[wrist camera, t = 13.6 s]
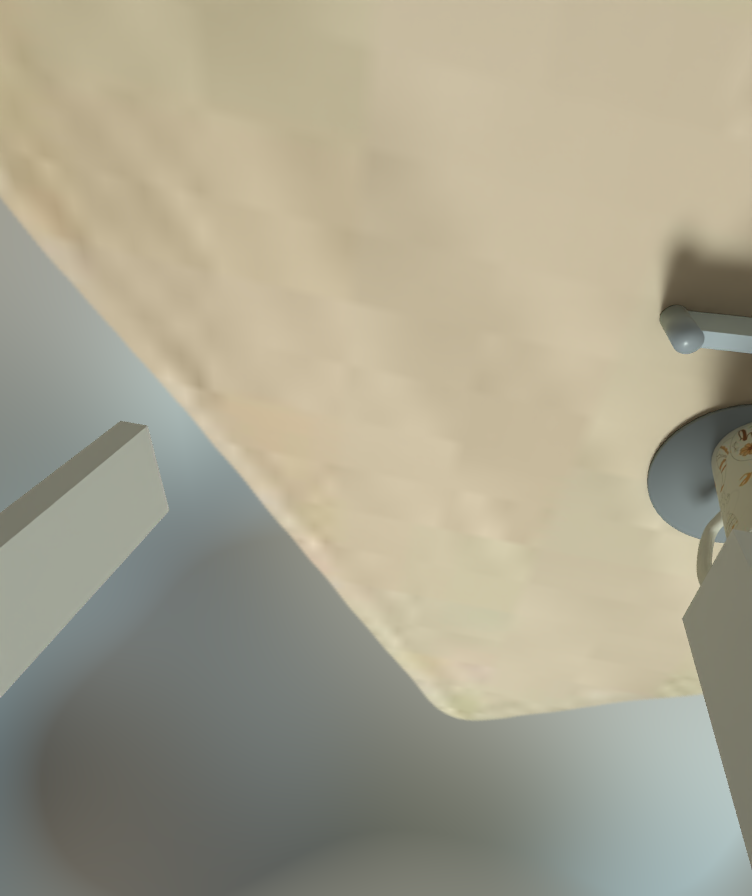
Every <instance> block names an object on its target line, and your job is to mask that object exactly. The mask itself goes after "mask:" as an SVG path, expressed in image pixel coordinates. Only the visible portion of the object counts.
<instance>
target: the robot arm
mask: <svg viewBox="0 0 752 896" xmlns="http://www.w3.org/2000/svg"><path fill="white" fill-rule="evenodd" d="M167 512H169V508H168V503H167V499H166V496H165V492H164V488H163V484H162V480H161V476H160V472H159V468H158V465H157V461H156V457H155V453H154V449H153V445H152V441H151V437H150V434H149V429H148V426H146V425H140V424H134V423H129V422H123V421H120V422H119V423H117V424H116V425H115V426H113V427H112V428H111V429H109V430H108V431H107V432H105V433H104V434H103V435H102V436H100V437H99V438H98V439H97V440H95V441H94V442H92V443H91V444H90V445H89V446H87V447H86V448H85V449H83V450H82V451H81V452H80V453H78V454H77V455H75V456H74V457H73V458H71V459H70V460H69V461H67V462H66V463H65V464H64V465H62V466H61V467H60V468H58V469H57V470H56V471H54V472H53V473H52V474H50V475H49V476H48V477H47V478H45V479H44V480H43V481H41V482H40V483H39V484H38V485H36V486H35V487H33V488H32V489H31V490H30V491H28V492H27V493H26V494H24V495H23V496H22V497H20V498H19V499H18V500H17V501H15V502H14V503H12V504H11V505H10V506H9V507H7V508H6V509H5V510H3V511H2V512H1V513H0V698H1V696H2V695H3V694H4V693H5V692H6V691H7V690H8V689H9V688H10V687H11V685H12V684H13V683H14V682H15V681H16V680H17V679H18V678H19V676H20V675H21V674H22V673H23V672H24V671H25V670H26V669H27V668H28V667H29V665H30V664H31V663H32V662H33V661H34V660H35V659H36V658H37V657H38V656H39V654H40V653H41V652H42V651H43V650H44V649H45V648H46V647H47V646H48V644H49V643H50V642H51V641H52V640H53V639H54V638H55V637H56V636H57V635H58V633H59V632H60V631H61V630H62V629H63V628H64V626H66V625H67V623H68V622H69V621H70V620H71V619H72V618H73V617H74V616H75V615H76V613H77V612H78V611H79V610H80V609H81V608H82V607H83V606H84V605H85V603H86V602H87V601H88V600H89V599H90V598H91V597H92V596H93V595H94V593H95V592H96V591H97V590H98V589H99V588H100V587H101V586H102V585H103V584H104V582H105V581H106V580H107V579H108V578H109V577H110V576H111V575H112V573H113V572H114V571H115V570H116V569H117V568H118V567H119V566H120V565H121V563H122V562H123V561H124V560H125V559H126V558H127V557H128V556H129V555H130V554H131V553H132V551H133V550H134V549H135V548H136V547H137V546H138V545H139V544H140V542H141V541H142V540H143V539H144V538H145V537H146V536H147V535H148V533H150V531H151V530H152V529H153V528H154V527H155V526H156V525H157V524H158V523H159V521H160V520H161V519H162V518H163V517H164V516H165V515H166V514H167ZM682 619H683V623H684V627H685V630H686V634H687V637H688V641H689V645H690V648H691V652H692V655H693V659H694V663H695V666H696V670H697V673H698V677H699V681H700V684H701V688H702V691H703V695H704V699H705V702H706V706H707V709H708V713H709V717H710V720H711V724H712V727H713V731H714V735H715V738H716V742H717V745H718V749H719V752H720V756H721V760H722V763H723V767H724V771H725V774H726V778H727V781H728V785H729V788H730V792H731V796H732V799H733V803H734V806H735V810H736V814H737V817H738V821H739V824H740V828H741V832H742V835H743V838H744V842H745V846H746V850H747V853H748V857H749V860H750V864H751V868H752V532H746V531H740V530H735V529H732V531H731V532H730V534H729V536H728V538H727V540H726V541H725V543H724V545H723V547H722V548H721V550H720V552H719V554H718V556H717V557H716V559H715V561H714V563H713V565H712V566H711V568H710V570H709V572H708V573H707V575H706V577H705V579H704V581H703V582H702V584H701V586H700V588H699V590H698V591H697V593H696V595H695V597H694V598H693V600H692V602H691V604H690V606H689V607H688V609H687V611H686V613H685V615H684V616H683V618H682Z"/></svg>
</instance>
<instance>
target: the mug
mask: <svg viewBox="0 0 752 896" xmlns="http://www.w3.org/2000/svg"><path fill="white" fill-rule="evenodd" d="M711 466H712V473H713V477H714V482H715V487H716V492H717V497H718V501H719V506H720V512H718V513H717V514H716V515H715V517H714V518H713V519H712V520H711V521H710V522H709V523H708V524H707V526H706V527H705V529H704V531H703V534H702V536H701V540H700V544H699V548H698V555H697V577H698V581H699V583H700V586H701V584H702V582H703V581H704V579H705V577H706V575H707V573H708V572H709V570H710V568H711V566H712V552H713V546H714V541H715V538H716V536H717V534H718V532H719V530H720V529H721V528H722V527H723V526H724V530H725V535H726V540H727V538H728V536H729V534H730V532H731V531H732V529H735V530H740V531H746V532H752V422H751V423H748V424H745V425H743V426H741V427H738V428H736V429H735V430H733V431H731V432H730V433H729V434H727V435H726V436H725V437H724V438H723V439H722V440H721V441H720V442H719V443H718V445H717V446H716V448H715V450H714V452H713V455H712V460H711Z"/></svg>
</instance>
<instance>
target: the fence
mask: <svg viewBox="0 0 752 896" xmlns="http://www.w3.org/2000/svg"><path fill="white" fill-rule="evenodd" d="M660 324H661V325H662V327H663V329H664V331H665V333H666V335H667V336H668V338H669V340H670V342H671V344H672V345H673V347H674V349H675V350H676V351H677V352H679V353H682V354H689V353H693V352H695V351H697V350H698V349H699V348H708V349H716V350H725V351H734V352H742V353H751V354H752V318H751V317H742V316H732V315H722V314H713V313H703V312H694V311H687V309H686V308H685V307H683V306H681V305H673V306H670V307H668V308H666V309H665V310H664V311H663V312H662V313H661V315H660Z"/></svg>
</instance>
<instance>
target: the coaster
mask: <svg viewBox="0 0 752 896" xmlns="http://www.w3.org/2000/svg"><path fill="white" fill-rule="evenodd" d="M751 422H752V404H747V405H738V406H733V407H728V408H724V409H720V410H717V411H714V412H711V413H708V414H706V415H704V416H701V417H699V418H697V419H695V420H693V421H691V422H690V423H688V424H686V425H685V426H683V427H682V428H680V429H679V430H677V431H676V432H675V433H674V434H673V435H672V436H670V437H669V438H668V439H667V440H666V441H665V442H664V444H663V445H662V446H661V447H660V448H659V450H658V451H657V453H656V454H655V456H654V458H653V460H652V462H651V465H650V468H649V471H648V478H647V485H648V492H649V496H650V500H651V502H652V504H653V506H654V508H655V510H656V511H657V513H658V514H659V515H660V516H661V517H662V518H663V520H664V521H666V522H667V523H668V524H669V525H671V526H672V527H674V528H675V529H677V530H678V531H680V532H682V533H685V534H687V535H689V536H692V537H695V538H698V539H701V536H702V534H703V531H704V529H705V527H706V526H707V524H708V523H709V522H710V521H711V520H712V519H713V518H714V517H715V515H716V514H717V513H718V512H720V506H719V501H718V497H717V492H716V487H715V482H714V477H713V473H712V466H711V460H712V455H713V452H714V450H715V448H716V446H717V445H718V443H719V442H720V441H721V440H722V439H723V438H724V437H725V436H726V435H727V434H729V433H730V432H731V431H733V430H735V429H736V428H738V427H741V426H743V425H745V424H748V423H751ZM725 541H726V535H725V530H724V526H723V527H722V528H721V529H720V530H719V532H718V534H717V536H716V538H715V541H714V542H719V543H725Z"/></svg>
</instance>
